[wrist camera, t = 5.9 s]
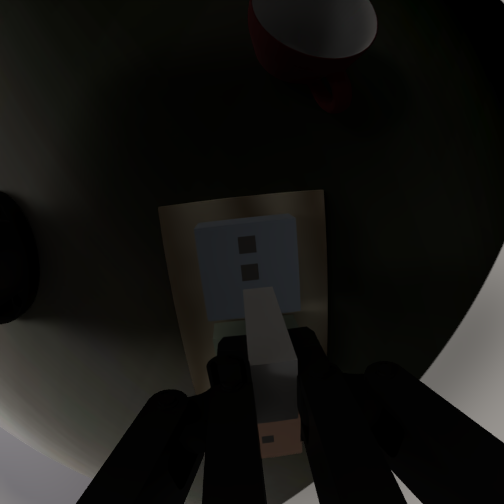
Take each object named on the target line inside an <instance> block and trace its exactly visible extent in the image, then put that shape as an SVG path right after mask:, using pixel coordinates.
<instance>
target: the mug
mask: <svg viewBox="0 0 504 504" xmlns="http://www.w3.org/2000/svg"><path fill="white" fill-rule="evenodd" d="M248 27H249V32H250V36H251V39H252V43H253V47H254V50H255V54H256V56H257V59H258V61H259V62H260V64H261V65H262V67H263V68H264V69H265V70H266V71H267V72H268V73H269V74H271V75H272V76H274V77H276V78H277V79H280V80H282V81H285V82H289V83H295V84H307V85H308V87H309V88H310V90H311V92H312V94H313V96H314V98H315V100H316V102H317V103H318V105H319V106H320V107H321V108H322V109H323V110H324V111H326V112H328V113H331V114H336V113H341V112H343V111H345V110H346V109H347V108H348V107H349V106H350V103H351V100H352V87H351V83H350V80H349V78H348V75H347V73H346V69H347V68H348V67H349V66H350V65H351V64H352V63H353V62H354V61H356V60H357V59H358V58H359V57H360V56H361V55H362V54H363V53H364V52H365V51H366V50H367V49H368V48H369V47H370V46H371V45H372V44H373V42H374V40H375V38H376V36H377V32H378V19H377V15H376V11H375V9H374V7H373V5H372V3H371V2H370V0H250V1H249V8H248ZM324 77H326V78H327V80H328V82H329V84H330V87H331V90H332V95H333V97H332V96H331V94H330V93H329V92H328V91H327V89H326V88H325V86H324V85H323V83H322V82H321V79H322V78H324Z"/></svg>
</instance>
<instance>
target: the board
mask: <svg viewBox="0 0 504 504" xmlns="http://www.w3.org/2000/svg"><path fill="white" fill-rule="evenodd" d="M158 212H159V219H160V226H161V233H162V239H163V245H164V251H165V257H166V263H167V269H168V274H169V280H170V285H171V290H172V296H173V301H174V305H175V310H176V315H177V320H178V324H179V329H180V333H181V338H182V342H183V346H184V350H185V354H186V358H187V362H188V366H189V370H190V374H191V378H192V382H193V386H194V389H195V393H196V395H198V394H201V393H204V392H205V391H207V390H208V389H210V387H211V386H210V382H209V377H208V373H207V368H206V365H207V363H208V361H209V360H211V359H212V358H213V357H215V356H216V354H215V349H214V344H213V332H214V323H223V322H233V321H242V320H245V318H238V319H228V320H218V321H208V318H207V312H206V306H205V300H204V294H203V288H202V282H201V276H200V269H199V262H198V256H197V249H196V241H195V234H194V228H195V227H196V225H197V224H198V223H202V222H211V221H220V220H229V219H238V218H247V217H257V216H266V215H277V214H287V213H289V214H290V215H292V216H293V217H295V218H296V230H297V245H298V262H299V281H300V304H301V311H296V312H288V313H282V316H284V315H291V314H293V315H294V317H295V319H296V322H297V324H298V326H299V327H306V326H307V327H308V328H310V329H311V330H313V331H314V332H315V334H316V336H317V339H318V340H319V342H320V345H321V346H322V348H323V350H324V352H325V354H326V356H327V330H328V282H327V245H326V222H325V205H324V190H309V191H296V192H284V193H273V194H262V195H252V196H242V197H232V198H223V199H215V200H206V201H198V202H190V203H183V204H175V205H168V206H161V207H158Z"/></svg>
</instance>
